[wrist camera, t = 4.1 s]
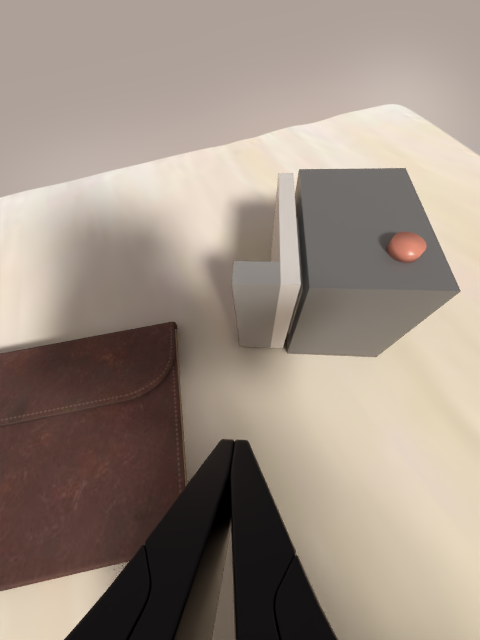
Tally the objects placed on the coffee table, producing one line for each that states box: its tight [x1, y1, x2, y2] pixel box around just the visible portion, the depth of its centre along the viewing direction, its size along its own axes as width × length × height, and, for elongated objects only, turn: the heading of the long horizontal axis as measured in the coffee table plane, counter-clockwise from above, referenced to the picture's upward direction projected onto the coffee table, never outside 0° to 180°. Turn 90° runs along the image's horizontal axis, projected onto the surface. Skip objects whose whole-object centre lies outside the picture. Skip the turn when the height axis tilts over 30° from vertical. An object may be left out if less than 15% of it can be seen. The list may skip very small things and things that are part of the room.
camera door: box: [232, 173, 301, 348], centre depth 18 cm, size 10×4×8 cm, turn 176°
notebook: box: [0, 322, 187, 591], centre depth 17 cm, size 15×20×2 cm
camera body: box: [287, 168, 460, 357], centre depth 18 cm, size 11×7×10 cm, turn 176°
